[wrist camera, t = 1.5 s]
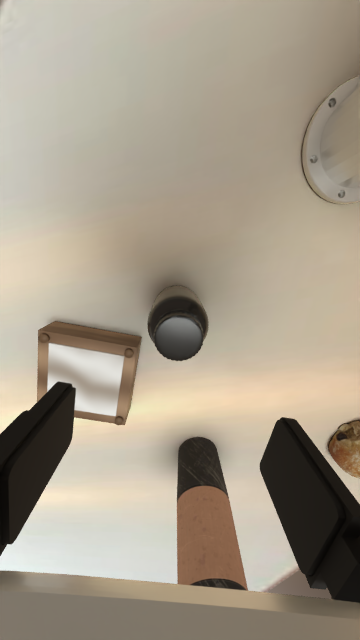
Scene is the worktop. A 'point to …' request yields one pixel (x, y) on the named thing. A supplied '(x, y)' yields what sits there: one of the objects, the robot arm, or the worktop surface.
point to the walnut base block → (89, 368)
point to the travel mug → (205, 521)
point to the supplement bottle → (177, 323)
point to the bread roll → (347, 448)
